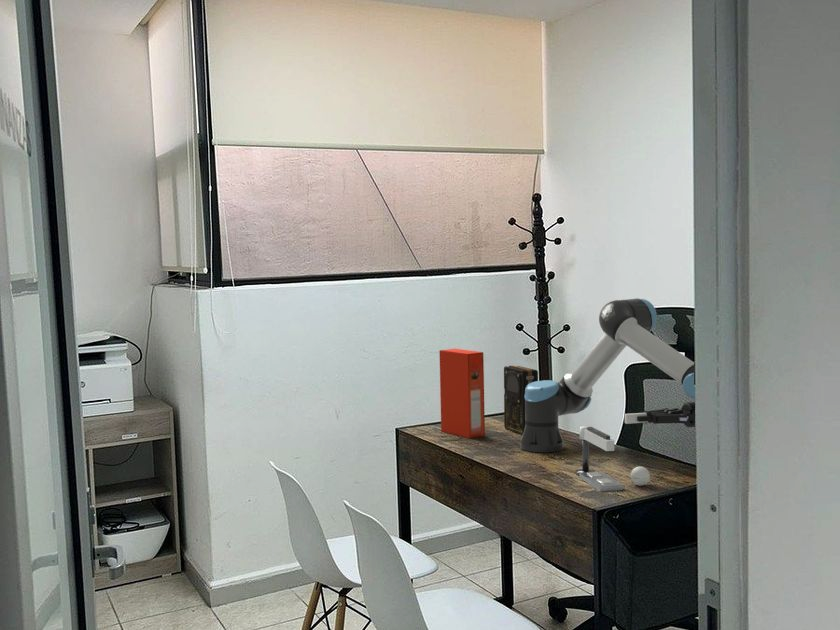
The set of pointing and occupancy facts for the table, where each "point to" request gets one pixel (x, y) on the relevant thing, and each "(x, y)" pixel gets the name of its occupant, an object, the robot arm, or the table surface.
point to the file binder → (462, 392)
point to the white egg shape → (640, 476)
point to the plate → (600, 481)
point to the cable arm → (597, 438)
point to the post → (585, 458)
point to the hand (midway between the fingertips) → (625, 418)
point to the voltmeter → (516, 396)
